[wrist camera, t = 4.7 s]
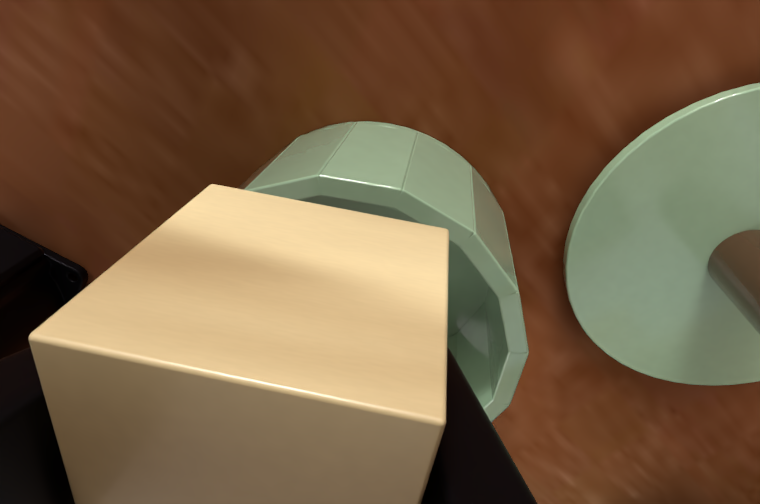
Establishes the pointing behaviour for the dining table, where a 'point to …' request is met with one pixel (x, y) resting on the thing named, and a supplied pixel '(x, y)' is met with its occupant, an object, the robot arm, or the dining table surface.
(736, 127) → the lid
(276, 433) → the block
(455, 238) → the pot
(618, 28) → the dining table surface
